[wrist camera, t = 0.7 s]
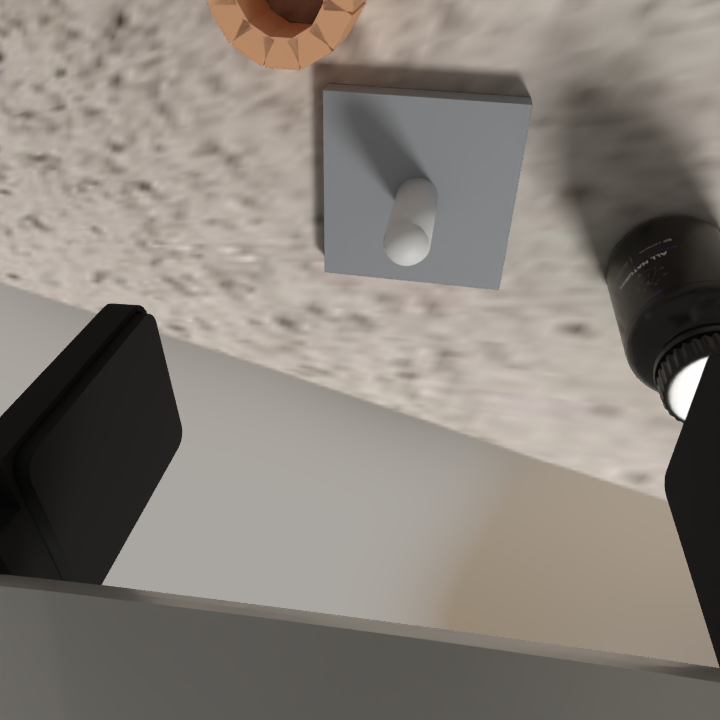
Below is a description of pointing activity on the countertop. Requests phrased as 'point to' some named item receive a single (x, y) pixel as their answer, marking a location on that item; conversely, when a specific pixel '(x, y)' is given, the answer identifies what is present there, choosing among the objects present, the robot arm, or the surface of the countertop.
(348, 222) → the post block
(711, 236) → the supplement bottle
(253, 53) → the ring
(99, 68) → the countertop surface
